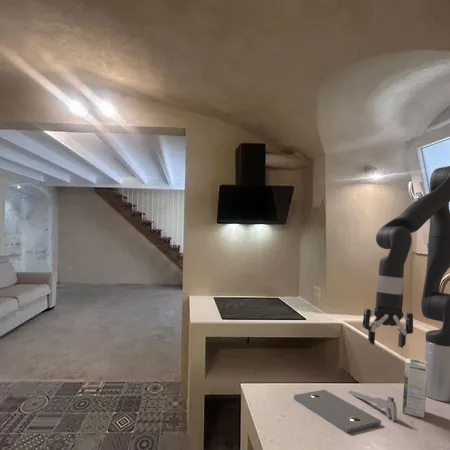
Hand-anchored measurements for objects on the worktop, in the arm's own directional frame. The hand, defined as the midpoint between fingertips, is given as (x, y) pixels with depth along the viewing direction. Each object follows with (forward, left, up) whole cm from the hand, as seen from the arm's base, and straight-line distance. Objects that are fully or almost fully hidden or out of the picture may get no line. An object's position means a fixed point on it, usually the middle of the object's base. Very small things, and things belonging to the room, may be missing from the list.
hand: (386, 345), depth 118 cm
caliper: (+5, -1, -18) cm, 19 cm away
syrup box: (-4, +7, -18) cm, 20 cm away
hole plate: (+18, -2, -18) cm, 25 cm away
